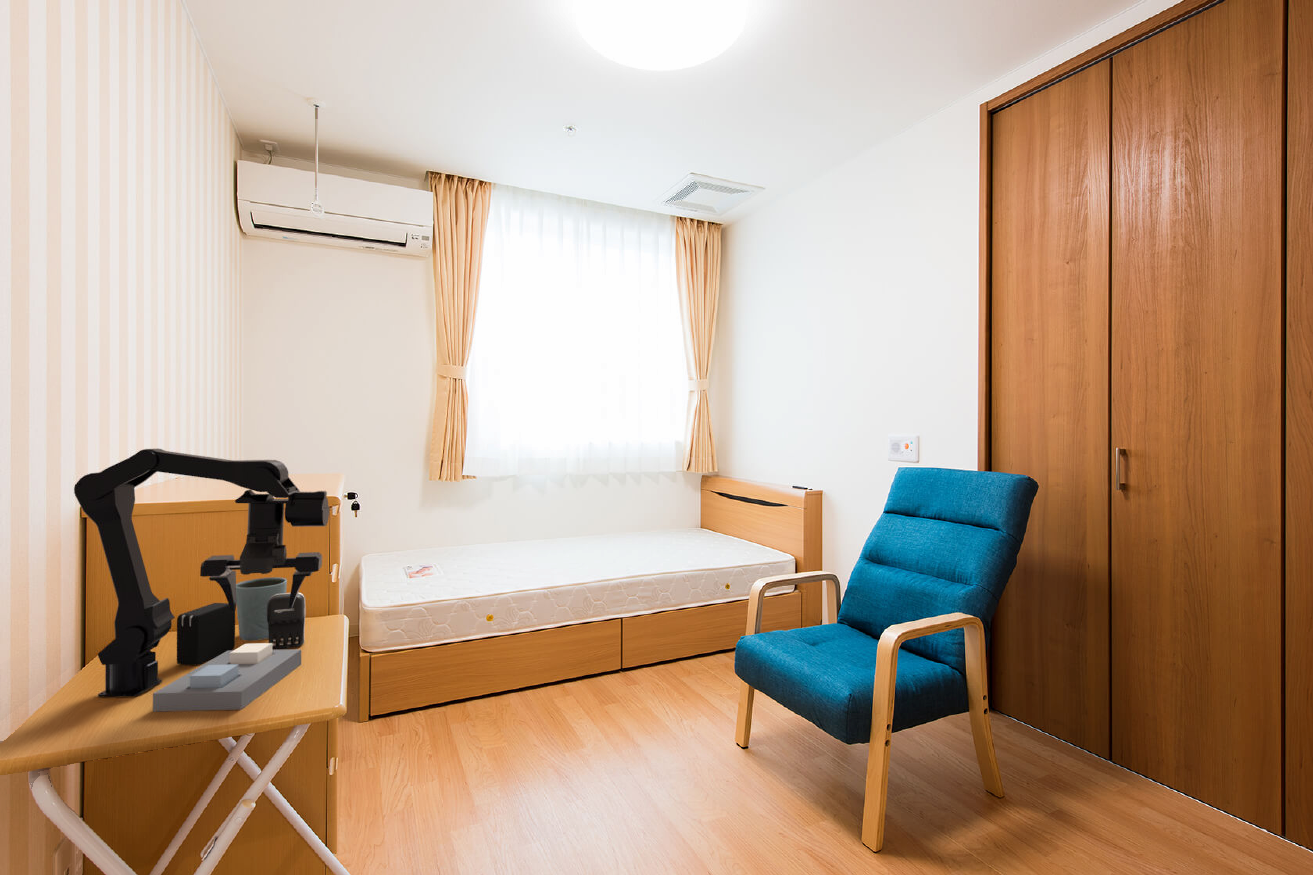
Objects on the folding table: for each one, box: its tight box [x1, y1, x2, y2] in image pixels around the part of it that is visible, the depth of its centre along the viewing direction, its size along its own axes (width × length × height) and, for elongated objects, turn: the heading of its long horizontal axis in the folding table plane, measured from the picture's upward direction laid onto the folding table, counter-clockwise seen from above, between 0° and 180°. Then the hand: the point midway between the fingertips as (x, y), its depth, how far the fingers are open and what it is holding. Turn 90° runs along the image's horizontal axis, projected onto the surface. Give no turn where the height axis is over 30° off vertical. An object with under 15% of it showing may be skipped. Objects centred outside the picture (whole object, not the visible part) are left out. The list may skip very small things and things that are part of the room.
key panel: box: [152, 648, 302, 712], centre depth 112 cm, size 14×20×3 cm
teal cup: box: [236, 576, 288, 642], centre depth 140 cm, size 10×10×12 cm
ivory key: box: [230, 642, 273, 664], centre depth 117 cm, size 5×5×2 cm
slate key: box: [190, 664, 239, 689], centre depth 106 cm, size 5×5×2 cm
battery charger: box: [267, 592, 306, 650], centre depth 132 cm, size 7×4×11 cm, turn 111°
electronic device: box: [176, 602, 236, 666], centre depth 126 cm, size 4×10×10 cm, turn 174°
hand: (262, 609), depth 115 cm, fingers open, 9 cm apart
